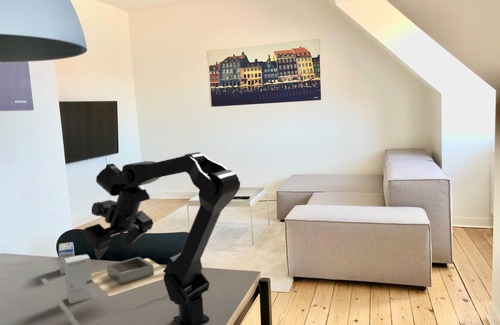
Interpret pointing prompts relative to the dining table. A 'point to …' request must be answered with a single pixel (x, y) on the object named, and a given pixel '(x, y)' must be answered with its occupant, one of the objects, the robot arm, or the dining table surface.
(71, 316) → the dining table surface
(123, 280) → the sleeve
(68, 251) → the medicine box
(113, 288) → the board
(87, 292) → the skincare box
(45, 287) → the dining table surface
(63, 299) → the dining table surface
